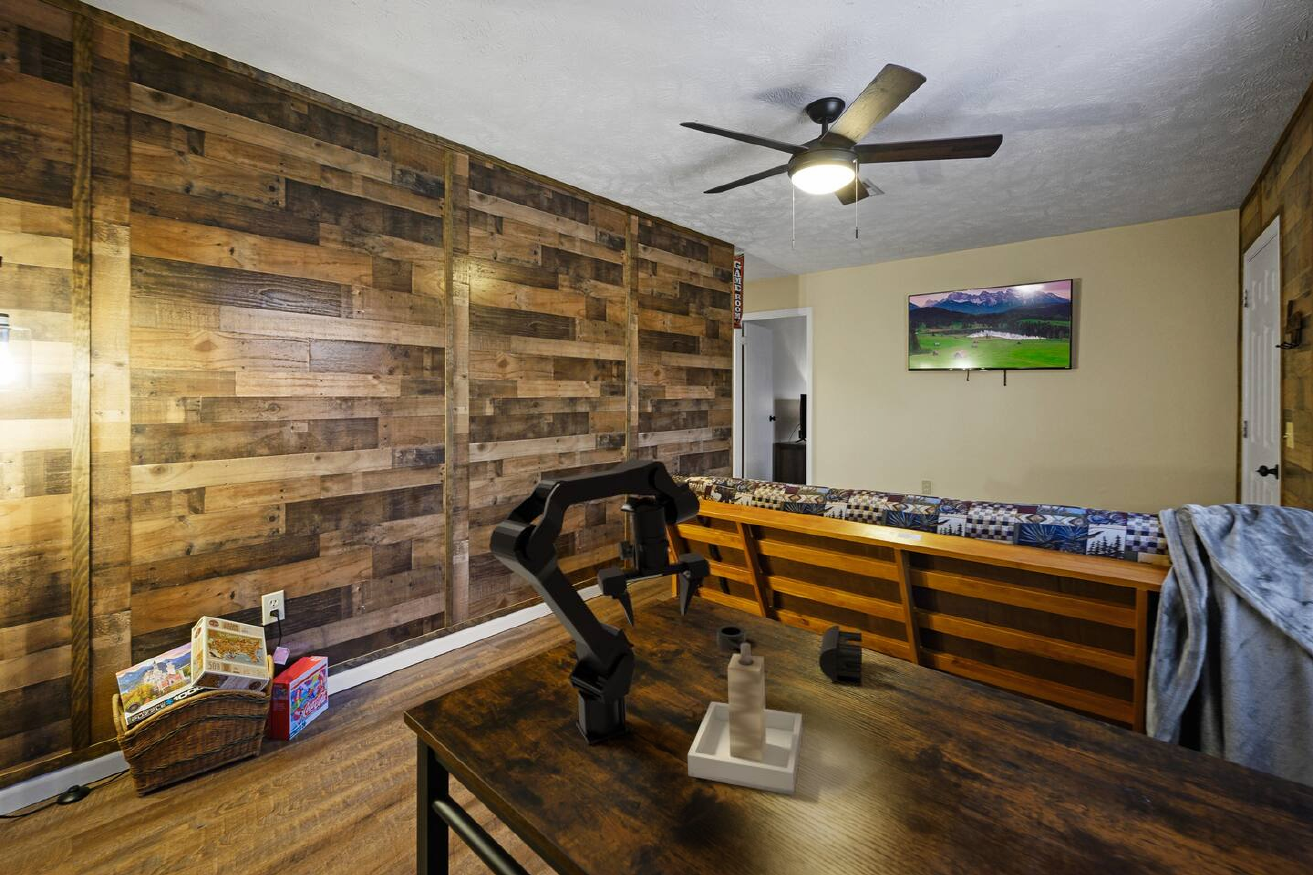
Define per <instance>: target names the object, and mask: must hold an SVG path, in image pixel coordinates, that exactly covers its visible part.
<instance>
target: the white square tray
mask: <svg viewBox="0 0 1313 875" xmlns="http://www.w3.org/2000/svg"><path fill="white" fill-rule="evenodd" d="M765 720H766V745H765V749H764V753H763V757H762V761H755V760H749V759H744V758H738V757H732V756H730V734H729V703H725V702H718V701H711V702H710V704H709V706H708V708H707V710H706V712H705V715H704V716H703V719H702V721H701V723H700V726H699V729H698V731H697V732H696V735H695V737H694V740H693V742H692V744H691V746H690V749H689V751H688V753H687V774H688V777H692V778H693V777H694V778H697V779H698V778H699V779H703V780H709V781H714V782H720V783H725V784H730V785H735V786H741V787H746V788H752V789H757V790H761V791H767V792H773V793H779V794H783V795H787V796H788V795H789V796H795V795H794V793H795V787H796V779H797V773H798V766H799V760H800V753H801V752H800V751H801V743H802V738H803V714H802V713H797V712H789V711H781V710H775V709H767V708H765Z"/></svg>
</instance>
